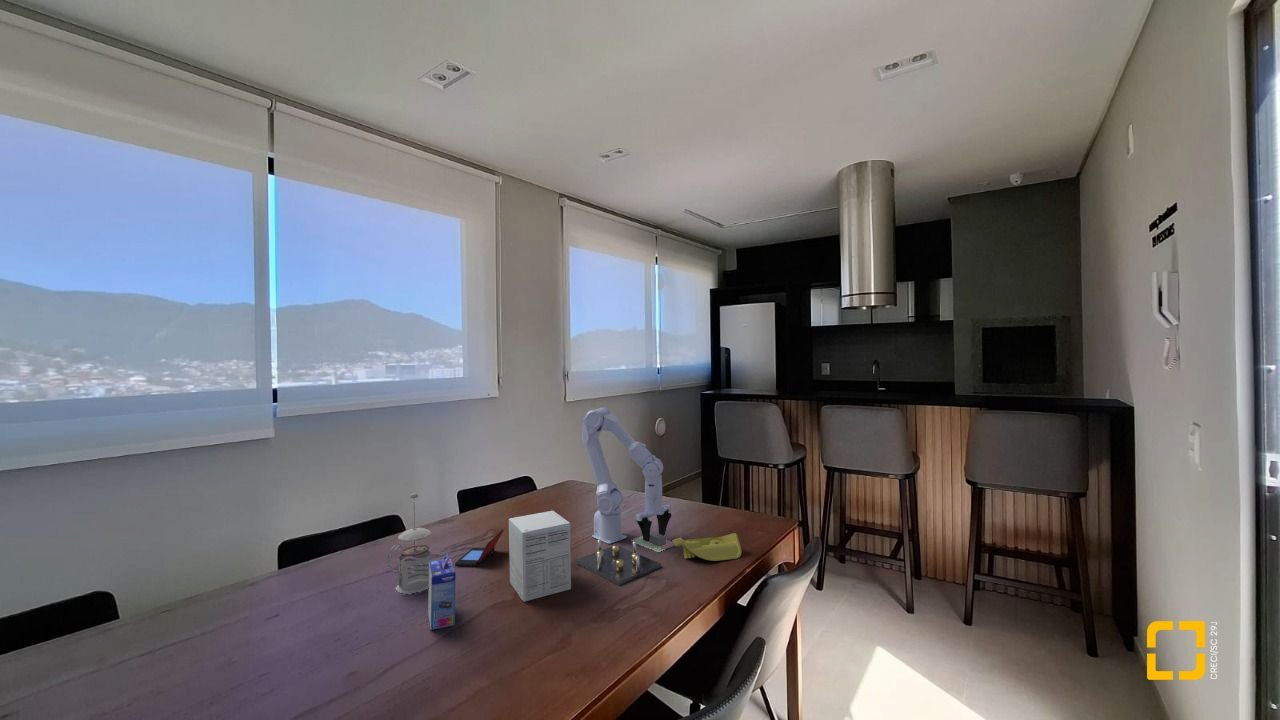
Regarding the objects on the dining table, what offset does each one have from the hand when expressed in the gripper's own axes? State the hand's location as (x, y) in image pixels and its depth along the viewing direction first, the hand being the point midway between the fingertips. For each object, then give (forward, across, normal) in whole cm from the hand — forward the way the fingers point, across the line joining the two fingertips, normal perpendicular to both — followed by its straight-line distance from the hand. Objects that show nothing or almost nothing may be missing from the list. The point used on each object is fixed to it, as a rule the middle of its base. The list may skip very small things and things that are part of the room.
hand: (654, 537), depth 155 cm
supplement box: (+2, -43, 0) cm, 43 cm away
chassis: (+2, -20, -5) cm, 21 cm away
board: (+2, 0, 0) cm, 2 cm away
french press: (+2, -68, +24) cm, 72 cm away
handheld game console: (+2, -47, +29) cm, 55 cm away
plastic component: (+2, +4, -18) cm, 19 cm away
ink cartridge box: (+2, -68, +2) cm, 68 cm away
